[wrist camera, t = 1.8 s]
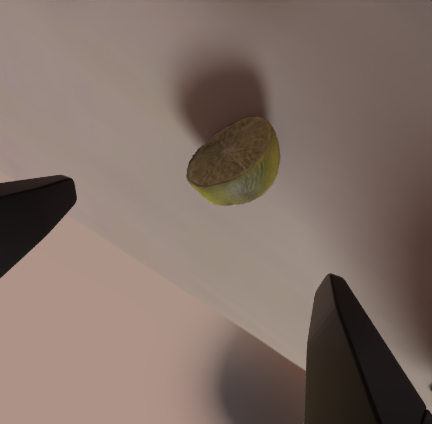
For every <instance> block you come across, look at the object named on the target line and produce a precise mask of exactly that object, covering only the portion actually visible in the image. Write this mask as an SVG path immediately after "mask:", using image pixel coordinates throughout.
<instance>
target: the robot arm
mask: <svg viewBox="0 0 432 424" xmlns="http://www.w3.org/2000/svg"><path fill="white" fill-rule="evenodd" d="M76 200H77V196H76V190H75V184H74V181H73V179H72V178H69V177H67V176H64V175H55V176H48V177H41V178H34V179H26V180H19V181H13V182H5V183H0V278H1V277H2V276H3V275H4V274H6V273H7V272H8V271H9V270H10V269H11V268H12V267H13V266H14V265H15V264H16V263H17V262H19V261H20V260H21V259H22V258H23V257H24V256H25V255H26V254H27V253H28V252H29V251H30V250H31V249H33V248H34V247H35V246H36V245H37V244H38V243H39V242H40V241H41V240H42V239H43V238H44V237H45V236H46V235H47V234H48V233H49V232H50V231H51V230H52V229H53V228H54V227H55V226H56V225H57V223H58V222H59V221H60V220H61V219H62V218H63V217H64V215H66V213H67V212H68V211H69V210H70V209H71V208H72V207H73V206H74V204H75V203H76ZM304 416H305V417H304V424H432V414H431V413H430V411H429V410H427V409H426V405H425V404H424V402H423V400H422V399H421V397H420V396H419V394H418V393H417V391H416V390H415V388H414V387H413V385H412V383H411V382H410V380H409V379H408V377H407V376H406V374H405V373H404V371H403V370H402V368H401V366H400V365H399V363H398V362H397V360H396V359H395V357H394V356H393V354H392V352H391V351H390V349H389V348H388V346H387V345H386V343H385V342H384V340H383V339H382V337H381V335H380V334H379V332H378V331H377V329H376V328H375V326H374V325H373V323H372V322H371V320H370V318H369V317H368V315H367V314H366V312H365V311H364V309H363V308H362V306H361V305H360V303H359V301H358V300H357V298H356V297H355V295H354V294H353V292H352V291H351V289H350V288H349V286H348V284H347V283H346V281H345V280H344V279H343V278H342V277H339V276H337V275H334V274H331V273H330V274H328V275H327V276H326V277H325V278H324V280H323V281H322V283H321V284H320V286H319V287H318V289H317V291H316V293H315V297H314V304H313V310H312V316H311V322H310V328H309V335H308V342H307V360H306V387H305V414H304Z"/></svg>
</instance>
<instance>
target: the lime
mask: <svg viewBox="0 0 432 424" xmlns="http://www.w3.org/2000/svg"><path fill="white" fill-rule="evenodd" d="M279 162H280V149H279V143H278V139H277V136H276V133H275V131H274V129H273V127H272V126H271V124H270V123H269V122H268V121H267V120H266V119H264V118H260V117H257V116H256V117H252V118H251V117H248V118H244V119H241V120H239V121H237V122H236V123H234V124H232V125H230V126H228V127H227V128H225V129H224V130H222V131H220V132H218V133H217V134H215V135H214V136H213V137H212V138H211V139H210V140H209V141H208V142H206V144H205V145H202V146H201V147H200V148H199V149H198V150H197V152H195V154H194V155H193V158H192V159H191V160H190V162H189V165H188V168H187V175H186V176H187V180H188V182H189V183H190V184H191V185H192V187H193V188H194V189H196V190H197V191H198V192H199V193H200V194H201V195H202V196H203V197H204V198H205V199H207V200H208V201H210V202H211V203H213V204H216V205H222V206H228V205H233V204H244V203H247V202H250V201H252V200H255V199H256V198H258V197H260V196H261V195H262V194H264V193H265V192H266V191H267V190H268V189H269V187H270V186H271V185H272V184H273V182H274V180H275V178H276V176H277V173H278V168H279Z"/></svg>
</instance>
